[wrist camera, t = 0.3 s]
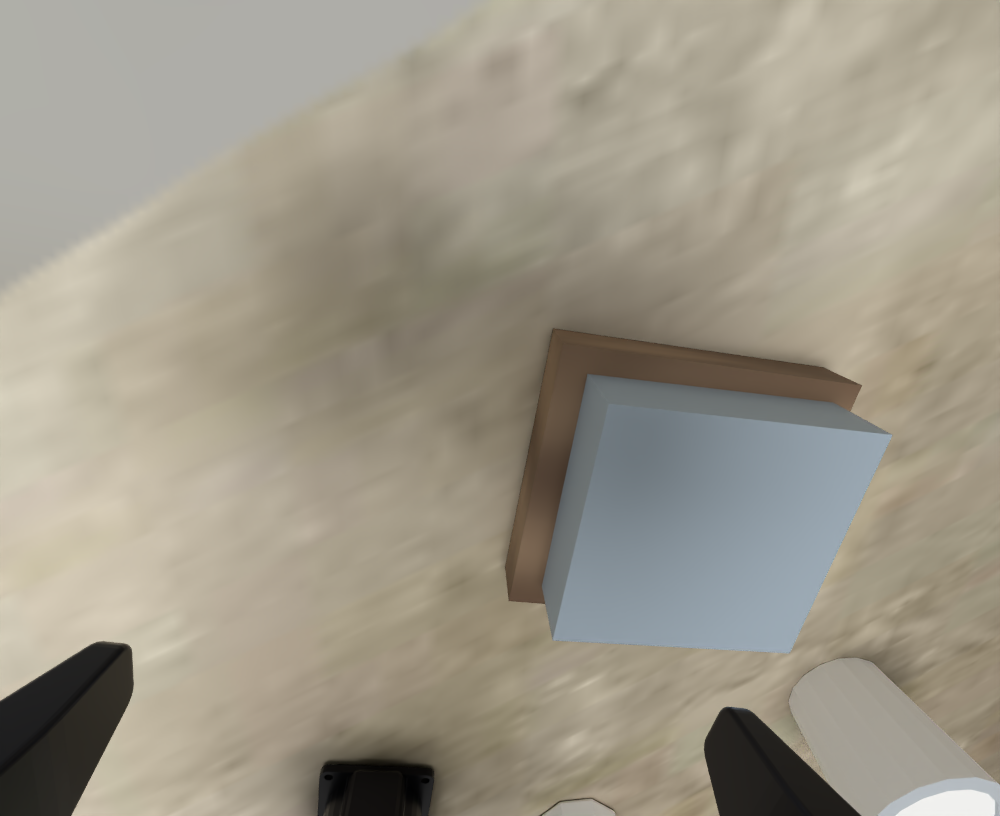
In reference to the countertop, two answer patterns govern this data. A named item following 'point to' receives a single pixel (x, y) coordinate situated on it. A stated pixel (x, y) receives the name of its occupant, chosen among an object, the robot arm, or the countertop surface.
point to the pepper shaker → (580, 809)
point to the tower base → (635, 361)
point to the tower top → (701, 514)
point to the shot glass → (885, 746)
